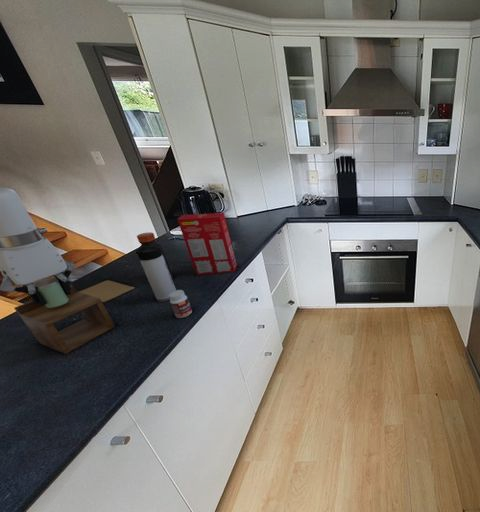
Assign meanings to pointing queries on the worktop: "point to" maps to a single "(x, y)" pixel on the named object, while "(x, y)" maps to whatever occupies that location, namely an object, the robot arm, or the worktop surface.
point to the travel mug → (156, 272)
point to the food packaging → (208, 243)
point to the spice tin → (51, 292)
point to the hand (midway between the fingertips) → (54, 298)
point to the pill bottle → (180, 303)
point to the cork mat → (107, 290)
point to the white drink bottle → (151, 245)
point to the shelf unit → (74, 335)
